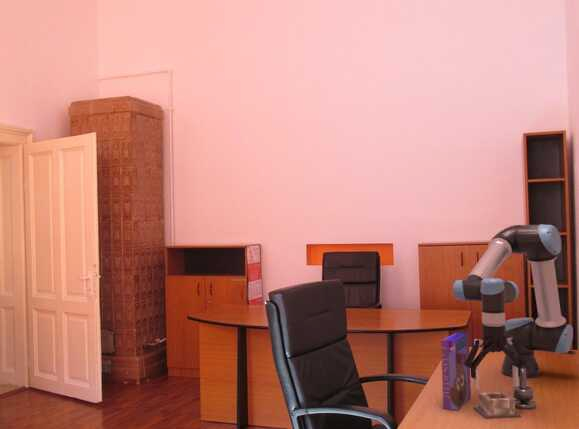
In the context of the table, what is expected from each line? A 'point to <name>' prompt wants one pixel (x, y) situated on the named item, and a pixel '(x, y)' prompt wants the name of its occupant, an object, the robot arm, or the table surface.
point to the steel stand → (523, 393)
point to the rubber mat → (495, 415)
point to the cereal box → (455, 371)
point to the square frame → (496, 403)
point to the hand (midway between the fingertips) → (496, 386)
